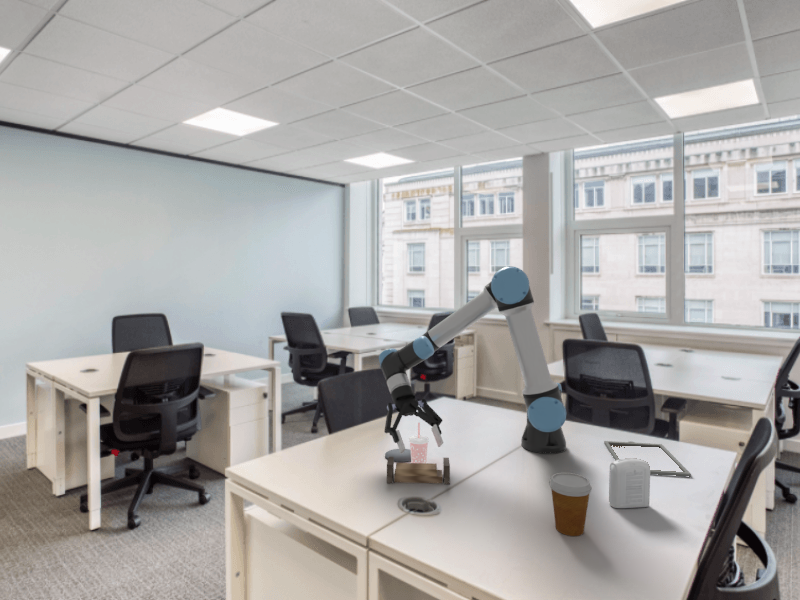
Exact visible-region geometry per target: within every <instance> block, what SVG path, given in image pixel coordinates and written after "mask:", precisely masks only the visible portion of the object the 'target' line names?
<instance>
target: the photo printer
mask: <svg viewBox="0 0 800 600" xmlns="http://www.w3.org/2000/svg"><path fill="white" fill-rule="evenodd" d="M608 476H609V478H608V479H609V480H608V481H609V483H608V502H609V505H610V506H611V507H612V508H615V509H630V508H631V509H632V508H633V509H634V508H645V507H646V508H647V507H649V506H650V495H651V493H650V492H651V491H650V490H651V489H650V488H651V485H650V484H651V475H650V466H649V464H648V462H646V461H644V460H641V459H637V458H625V459H619V460H616V461H615V460H614V461H612V462H611V463H610V465H609V475H608Z"/></svg>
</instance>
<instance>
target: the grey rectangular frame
mask: <svg viewBox="0 0 800 600" xmlns="http://www.w3.org/2000/svg"><path fill="white" fill-rule="evenodd" d="M603 442H604V443H603V444H604V446H605V447H606V449H607V451H608V452H609V454H610V453H611V454H610V455H611V457H612V456H613V457H612V458H613V460H614V459H615V460H614V461H616V460H619V458H618V456H617V455H616V453H615V452H614V450H613V449H612V447H611V446H612V445H613V447H615V446H616V447H618V446H619V448H620V446H621V447H622V446H641V447H659V448H661V449H662V450H663V451H664V452H665V453H666V454H667V455H668V456H669V457H670V458H671V459H672V460H673V461H674V462H675V463H676V464H677V465H678V466H679V468H680V469H681V470H682V471H683V472H676V471H661V470H650V474H658V475H657V476H662V475H676V476H689V477H688V478H690V477H691V478H692V473H691V472H690V471H689V470H688V469H687V468H686V467H685V466H684V465H683V464H682V463H681V462H680V461H679V460H678V459H677V458H676V457H675V456H674V455H673V454H672V453H671V452H670V451H669V450H668V449H667V448H666V447H665V446H664V445H663V444H662V443H646V442H635V441H615V440H614V441H613V440H604V441H603ZM624 448H625V447H624ZM676 476H675V477H676Z"/></svg>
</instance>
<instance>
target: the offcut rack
mask: <svg viewBox="0 0 800 600" xmlns="http://www.w3.org/2000/svg"><path fill="white" fill-rule="evenodd" d="M442 459H443V461H442V462H443V463H442V464H443V465H442V466H443V469H438V467H437V463H428V462H426V463H411V462H396V465H395V462H394V457H388V459H387V461H386V484H393V483H403V484H404V483H406V484H408V483H409V484H411V483H413V484H414V483H415V484H444V485H451V479H450V478H451V462H450V459H449V457H442ZM394 467H395V468H394Z"/></svg>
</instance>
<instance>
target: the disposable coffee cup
mask: <svg viewBox="0 0 800 600" xmlns="http://www.w3.org/2000/svg"><path fill="white" fill-rule="evenodd" d="M548 483H549V486H550V490H551V497H552V507H553V516H554V517H553V518H554V524H555V525H554V526H555V529H556V531H558V532H559V533H561V534H562V535H566V536H568V537H569V536H570V537H579V536H582V535H583V534H584V533H585V525H586V519H587V512H588V506H589V505H588V504H589V499H590V493H591V491H592V489H593V486H592V485H591V482H590V480H589V479H588V478H587V477H586V476H584V475H582V474H578V473H574V472H556V473H554V474H552V475H551V476H550V480H549V482H548Z"/></svg>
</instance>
